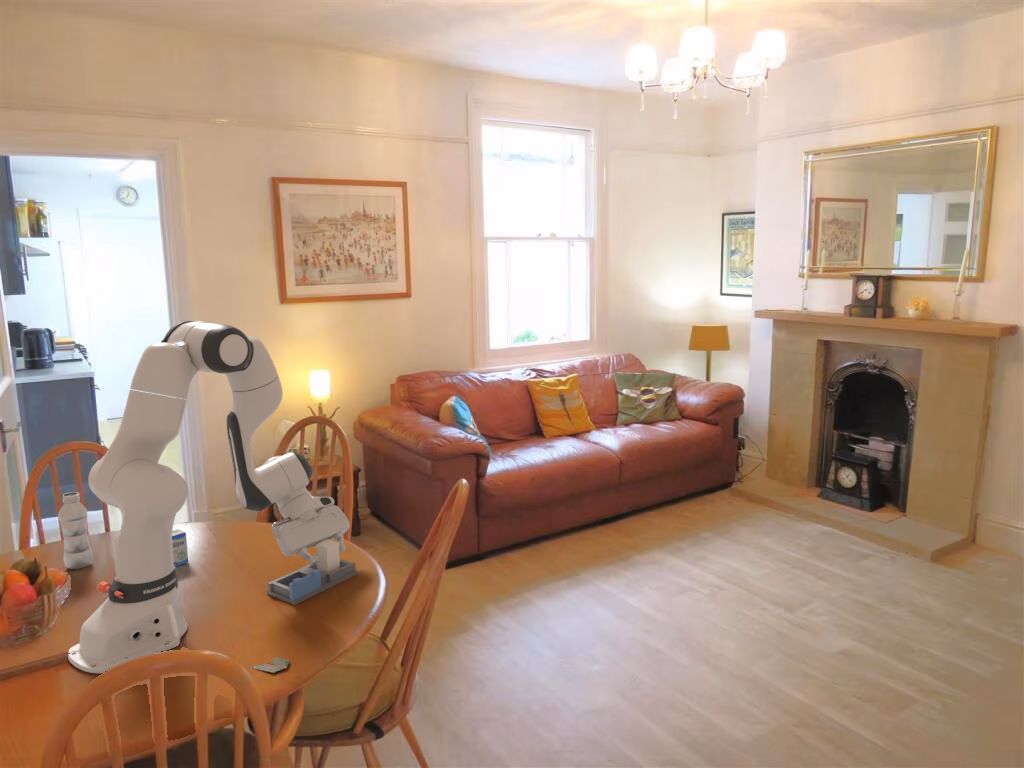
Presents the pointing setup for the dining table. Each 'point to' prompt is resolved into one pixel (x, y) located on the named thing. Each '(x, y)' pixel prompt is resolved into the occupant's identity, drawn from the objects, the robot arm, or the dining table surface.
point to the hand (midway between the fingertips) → (329, 556)
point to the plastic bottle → (74, 532)
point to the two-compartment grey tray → (309, 582)
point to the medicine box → (179, 547)
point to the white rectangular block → (328, 556)
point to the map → (273, 665)
